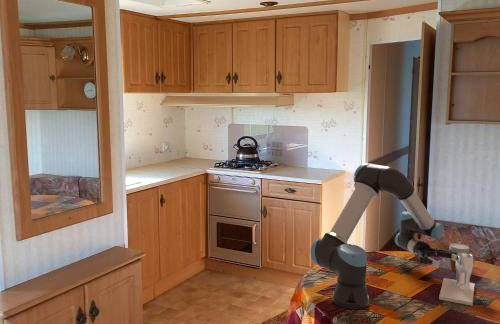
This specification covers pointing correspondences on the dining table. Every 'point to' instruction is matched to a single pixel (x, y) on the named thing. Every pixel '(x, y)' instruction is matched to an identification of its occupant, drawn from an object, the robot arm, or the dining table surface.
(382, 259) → the dining table surface
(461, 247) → the disposable coffee cup
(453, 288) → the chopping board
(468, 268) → the beer glass
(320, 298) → the dining table surface
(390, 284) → the dining table surface
